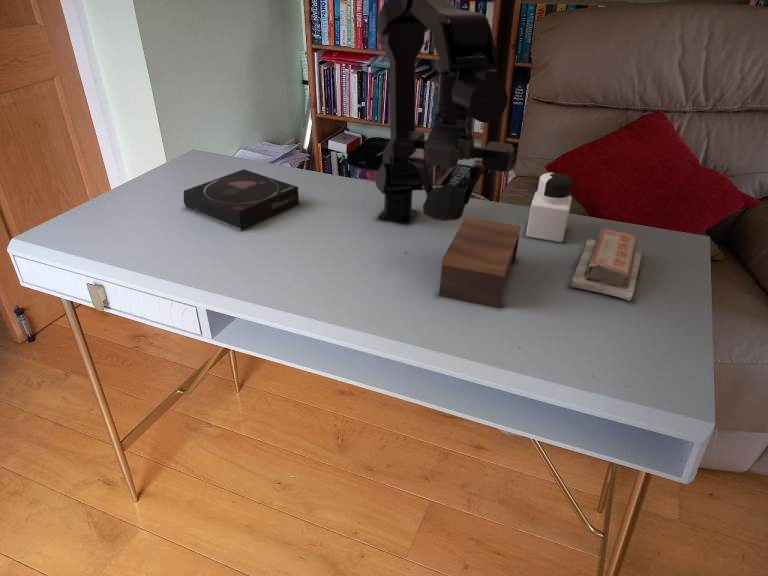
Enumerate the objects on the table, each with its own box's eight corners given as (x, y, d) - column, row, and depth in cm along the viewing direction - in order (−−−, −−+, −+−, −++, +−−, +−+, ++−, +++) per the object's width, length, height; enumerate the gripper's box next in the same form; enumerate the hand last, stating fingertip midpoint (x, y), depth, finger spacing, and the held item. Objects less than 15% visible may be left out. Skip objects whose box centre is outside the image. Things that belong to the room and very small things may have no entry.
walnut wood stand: (461, 250, 111) (465, 216, 107) (515, 260, 108) (521, 225, 104) (438, 295, 97) (442, 258, 93) (499, 308, 94) (505, 270, 91)
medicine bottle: (565, 228, 120) (577, 172, 114) (562, 243, 115) (574, 185, 108) (530, 222, 122) (539, 167, 116) (525, 237, 116) (535, 179, 110)
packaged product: (591, 222, 112) (647, 233, 108) (586, 245, 114) (640, 257, 111) (575, 263, 98) (638, 277, 94) (569, 288, 100) (631, 303, 97)
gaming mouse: (472, 192, 104) (474, 170, 101) (457, 227, 91) (460, 203, 89) (437, 188, 105) (438, 166, 103) (418, 221, 93) (419, 197, 91)
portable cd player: (243, 185, 135) (241, 168, 133) (298, 204, 127) (297, 187, 125) (184, 207, 124) (181, 189, 121) (241, 230, 115) (239, 211, 113)
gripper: (379, 110, 86) (377, 209, 94) (508, 126, 80) (494, 229, 88) (404, 93, 95) (400, 185, 103) (521, 107, 89) (507, 202, 97)
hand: (447, 200), depth 98 cm, fingers closed on gaming mouse, 6 cm apart
